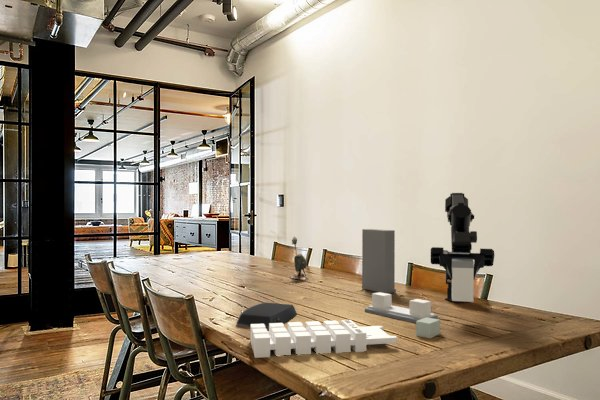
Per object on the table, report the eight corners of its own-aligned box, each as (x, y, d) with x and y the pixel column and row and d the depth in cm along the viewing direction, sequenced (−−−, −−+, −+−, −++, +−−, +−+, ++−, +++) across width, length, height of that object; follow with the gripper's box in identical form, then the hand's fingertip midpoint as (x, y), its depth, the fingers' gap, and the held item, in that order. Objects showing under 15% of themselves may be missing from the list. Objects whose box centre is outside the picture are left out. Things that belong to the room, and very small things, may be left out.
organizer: (250, 324, 122) (380, 318, 128) (250, 342, 122) (380, 336, 128) (255, 338, 109) (399, 331, 115) (255, 359, 109) (399, 351, 115)
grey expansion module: (451, 297, 147) (451, 258, 147) (472, 298, 146) (472, 259, 145) (452, 300, 142) (452, 260, 142) (473, 301, 141) (473, 261, 141)
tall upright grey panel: (396, 292, 191) (396, 230, 191) (385, 294, 187) (385, 230, 187) (372, 287, 202) (372, 228, 202) (361, 289, 199) (361, 229, 199)
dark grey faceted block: (233, 326, 138) (233, 312, 138) (262, 312, 156) (262, 300, 156) (274, 331, 133) (274, 316, 133) (299, 316, 151) (299, 303, 151)
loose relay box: (426, 331, 132) (426, 317, 132) (439, 334, 130) (440, 319, 130) (416, 335, 128) (416, 321, 128) (429, 338, 125) (429, 323, 125)
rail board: (384, 307, 163) (384, 291, 163) (437, 318, 147) (437, 300, 147) (364, 311, 156) (364, 294, 156) (418, 323, 140) (418, 304, 140)
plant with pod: (294, 281, 218) (294, 237, 218) (288, 277, 229) (288, 236, 229) (311, 280, 220) (311, 237, 221) (304, 276, 231) (304, 235, 232)
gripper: (430, 221, 150) (430, 261, 140) (493, 222, 145) (498, 263, 135) (430, 244, 158) (430, 283, 147) (490, 245, 153) (495, 286, 142)
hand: (462, 278), depth 143 cm, fingers closed on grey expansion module, 6 cm apart
